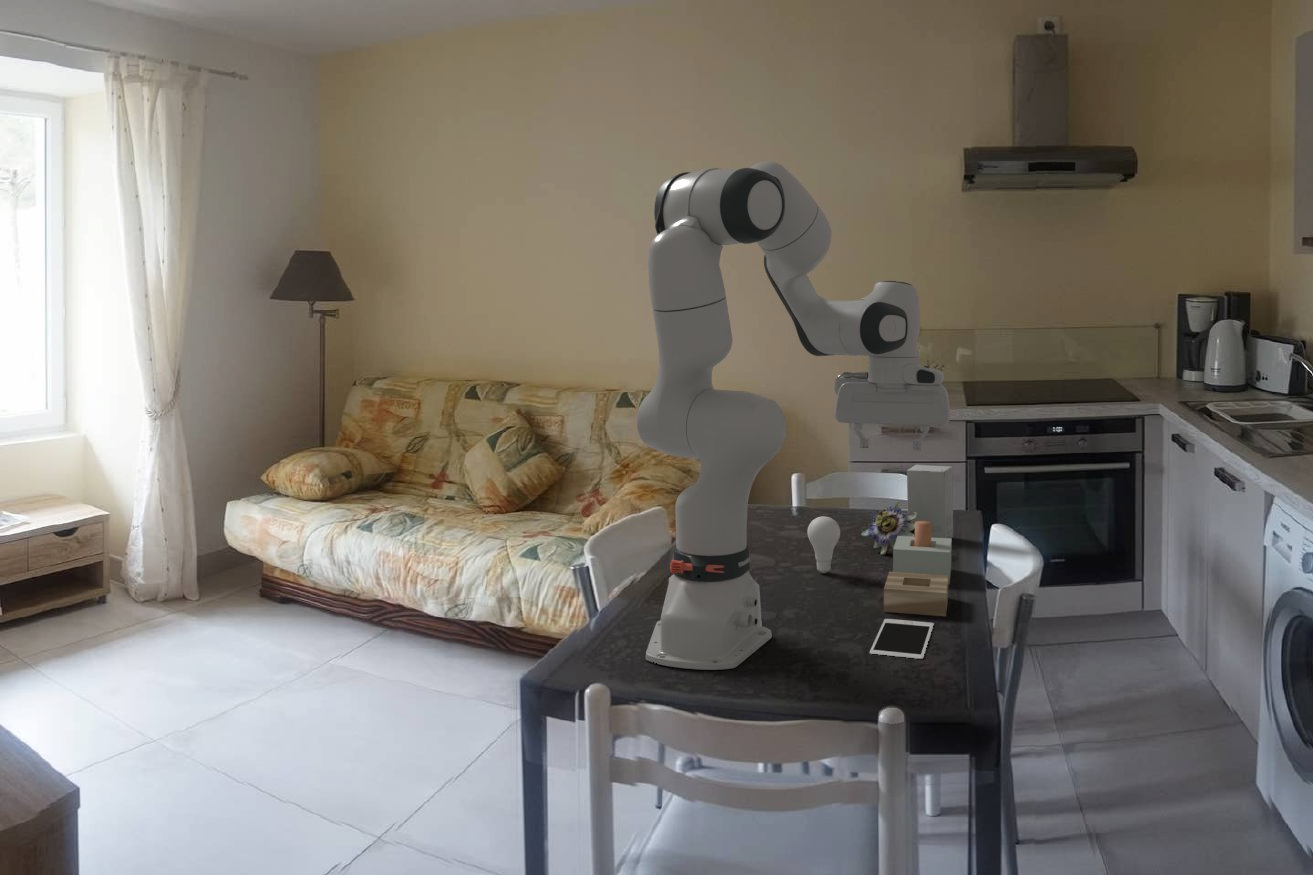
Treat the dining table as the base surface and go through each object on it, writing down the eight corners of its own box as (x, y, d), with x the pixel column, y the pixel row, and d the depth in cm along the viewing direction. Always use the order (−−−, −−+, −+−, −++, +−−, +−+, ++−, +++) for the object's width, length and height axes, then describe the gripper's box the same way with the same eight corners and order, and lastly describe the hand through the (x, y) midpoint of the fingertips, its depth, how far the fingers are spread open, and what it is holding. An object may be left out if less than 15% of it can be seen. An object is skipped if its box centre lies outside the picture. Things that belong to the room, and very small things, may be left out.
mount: (945, 616, 163) (946, 592, 162) (883, 611, 166) (883, 588, 165) (947, 597, 172) (948, 575, 171) (888, 593, 175) (889, 571, 174)
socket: (949, 584, 179) (950, 552, 178) (892, 580, 183) (893, 549, 182) (951, 569, 189) (951, 538, 188) (897, 565, 192) (897, 535, 191)
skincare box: (953, 537, 212) (955, 466, 209) (944, 545, 206) (946, 471, 204) (915, 533, 216) (916, 463, 214) (905, 540, 210) (906, 468, 208)
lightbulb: (839, 578, 185) (839, 520, 183) (806, 577, 186) (806, 520, 184) (840, 569, 191) (840, 513, 189) (808, 568, 192) (808, 512, 190)
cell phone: (934, 626, 159) (934, 622, 159) (922, 662, 144) (923, 658, 144) (884, 621, 162) (884, 618, 162) (868, 656, 147) (868, 652, 147)
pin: (930, 577, 184) (931, 525, 182) (913, 576, 185) (914, 524, 183) (931, 573, 187) (931, 521, 185) (914, 572, 188) (915, 520, 186)
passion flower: (884, 580, 201) (849, 532, 202) (903, 558, 209) (870, 511, 210) (927, 557, 194) (891, 507, 195) (945, 535, 202) (910, 487, 203)
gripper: (832, 372, 178) (830, 448, 180) (950, 375, 172) (947, 453, 174) (837, 370, 184) (835, 444, 186) (952, 372, 178) (949, 449, 180)
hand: (890, 448), depth 180 cm, fingers open, 8 cm apart
